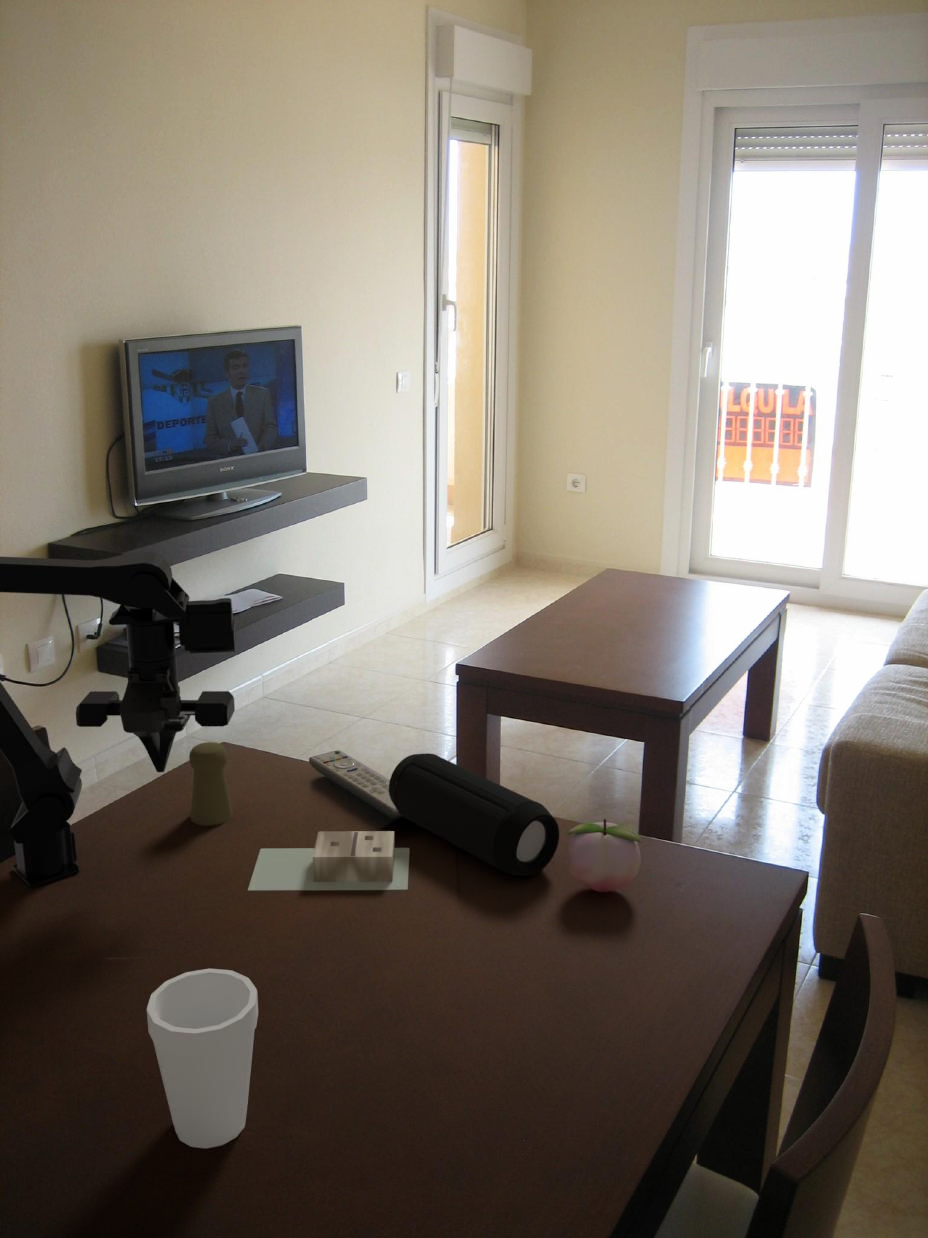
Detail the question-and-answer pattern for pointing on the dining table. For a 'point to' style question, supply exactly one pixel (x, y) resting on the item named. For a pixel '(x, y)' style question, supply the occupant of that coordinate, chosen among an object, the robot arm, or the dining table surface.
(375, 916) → the dining table surface
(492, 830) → the portable speaker
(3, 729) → the robot arm
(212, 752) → the cork
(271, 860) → the plate
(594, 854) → the decorative fruit
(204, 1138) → the foam cup
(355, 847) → the domino
